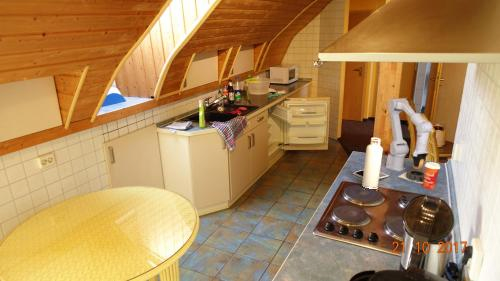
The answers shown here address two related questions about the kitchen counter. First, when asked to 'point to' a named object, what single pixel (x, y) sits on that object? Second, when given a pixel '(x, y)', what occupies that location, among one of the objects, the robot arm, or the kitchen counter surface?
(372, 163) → the bottle
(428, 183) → the paper cup
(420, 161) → the tan rounded lump
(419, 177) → the dark brown round dish
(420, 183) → the mat
